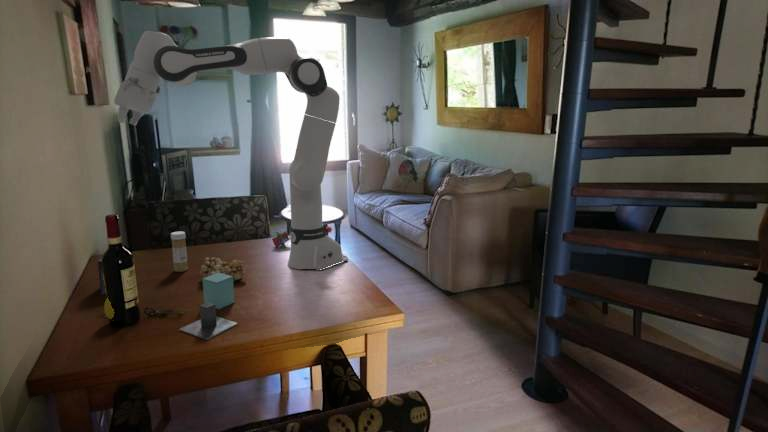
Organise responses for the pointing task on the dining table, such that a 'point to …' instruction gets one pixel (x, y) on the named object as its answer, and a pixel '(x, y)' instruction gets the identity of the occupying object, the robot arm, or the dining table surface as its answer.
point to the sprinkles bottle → (179, 251)
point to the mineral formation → (223, 268)
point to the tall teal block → (218, 290)
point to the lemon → (108, 309)
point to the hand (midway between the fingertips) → (126, 123)
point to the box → (101, 274)
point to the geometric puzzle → (280, 239)
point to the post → (208, 323)
